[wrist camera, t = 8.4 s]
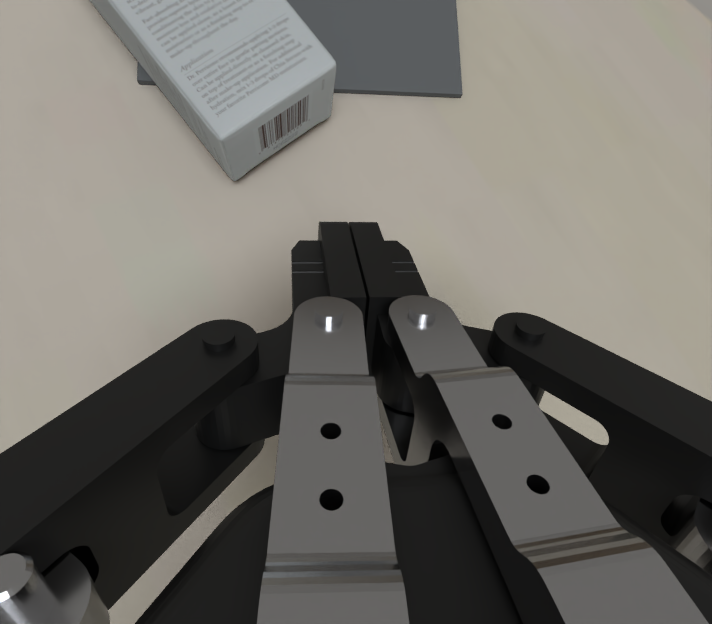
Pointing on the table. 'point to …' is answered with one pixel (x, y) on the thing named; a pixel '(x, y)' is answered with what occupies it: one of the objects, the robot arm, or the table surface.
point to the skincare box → (231, 70)
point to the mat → (384, 45)
